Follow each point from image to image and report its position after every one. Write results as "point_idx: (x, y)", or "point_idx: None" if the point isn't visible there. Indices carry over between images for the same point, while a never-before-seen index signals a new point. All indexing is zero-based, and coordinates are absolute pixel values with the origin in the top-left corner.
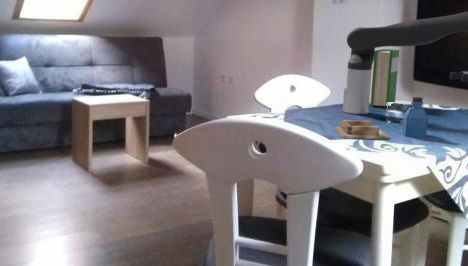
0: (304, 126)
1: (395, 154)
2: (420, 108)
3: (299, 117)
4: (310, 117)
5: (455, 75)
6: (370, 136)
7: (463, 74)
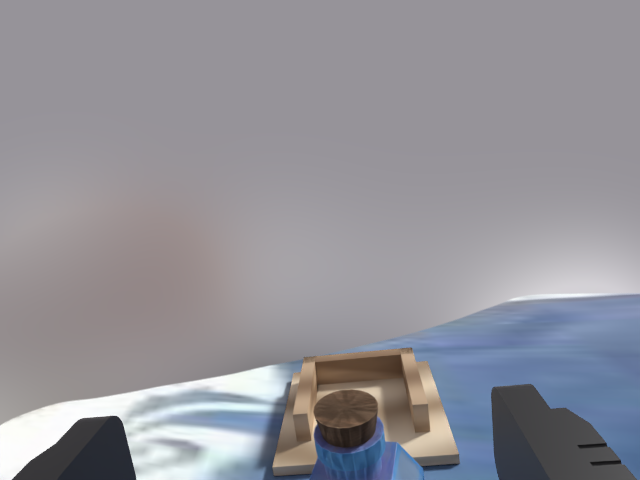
0: (444, 327)
1: None
2: (327, 476)
3: (595, 314)
4: (619, 328)
5: (519, 472)
6: (283, 422)
7: (104, 418)
